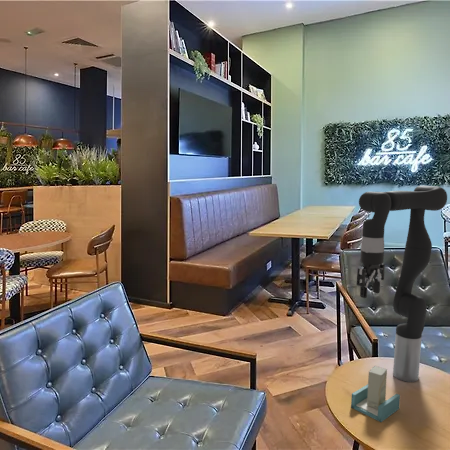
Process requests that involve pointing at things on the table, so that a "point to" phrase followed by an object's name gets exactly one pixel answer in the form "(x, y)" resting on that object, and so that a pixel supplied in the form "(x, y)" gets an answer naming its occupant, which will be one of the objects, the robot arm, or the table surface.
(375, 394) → the skincare box
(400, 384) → the table surface
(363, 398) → the u rest
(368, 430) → the table surface
